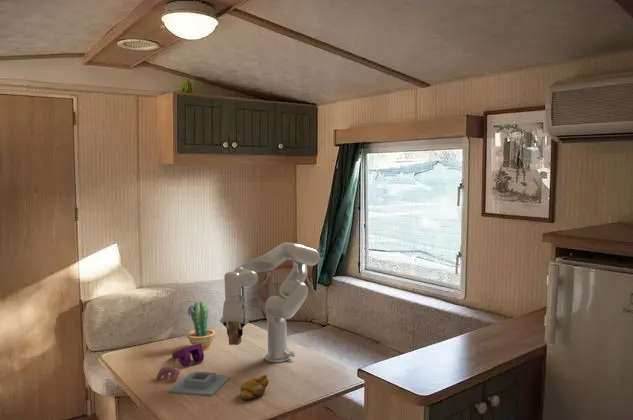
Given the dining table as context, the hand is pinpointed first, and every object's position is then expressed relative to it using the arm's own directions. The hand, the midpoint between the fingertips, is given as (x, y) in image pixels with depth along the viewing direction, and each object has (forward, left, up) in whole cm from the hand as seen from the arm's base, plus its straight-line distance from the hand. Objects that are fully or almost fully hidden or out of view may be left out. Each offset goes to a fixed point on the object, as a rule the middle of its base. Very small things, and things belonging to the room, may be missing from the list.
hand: (235, 336), depth 241 cm
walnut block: (0, 0, -3) cm, 3 cm away
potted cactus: (+30, -28, -17) cm, 44 cm away
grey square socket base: (+9, +18, -17) cm, 27 cm away
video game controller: (+26, +16, -17) cm, 35 cm away
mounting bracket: (+29, -8, -17) cm, 35 cm away
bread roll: (-17, +24, -17) cm, 34 cm away
